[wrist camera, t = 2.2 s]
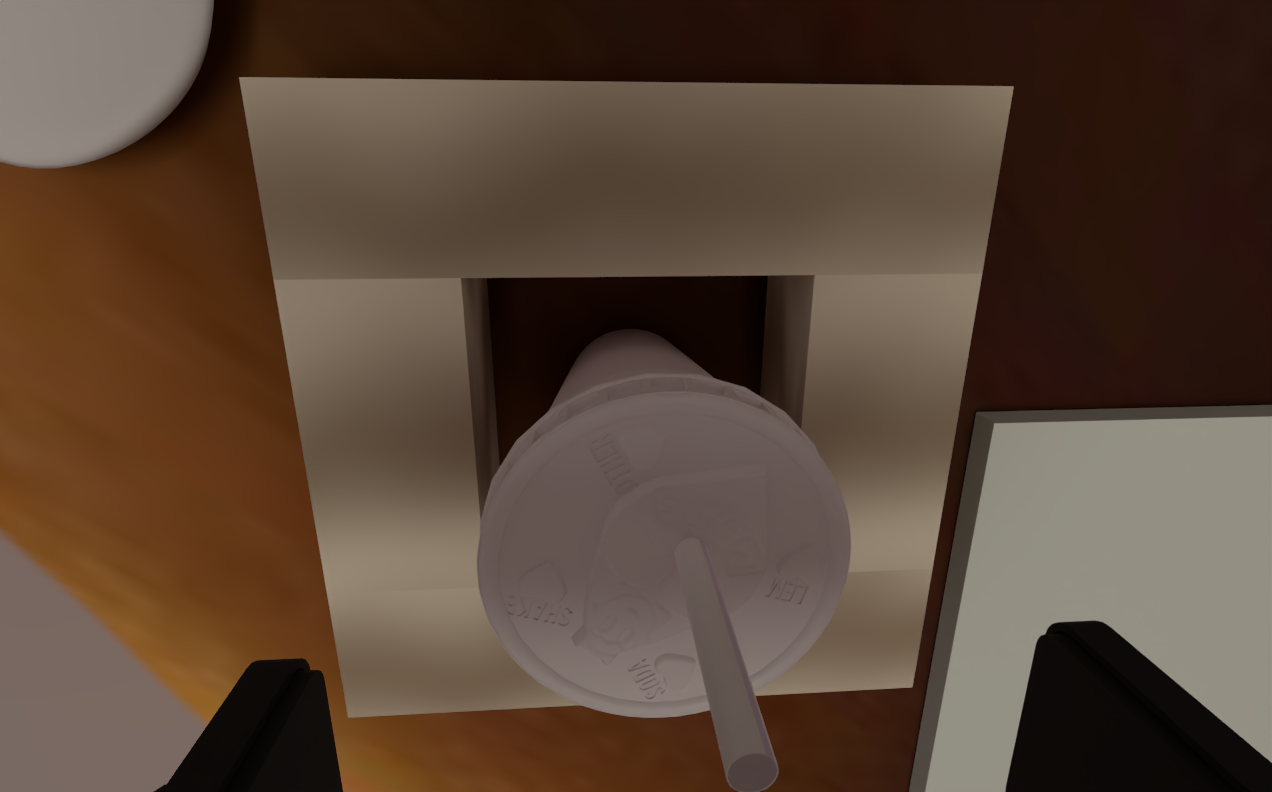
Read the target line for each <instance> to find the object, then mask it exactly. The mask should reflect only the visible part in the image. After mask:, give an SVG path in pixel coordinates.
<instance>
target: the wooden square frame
mask: <svg viewBox="0 0 1272 792" xmlns="http://www.w3.org/2000/svg"><path fill="white" fill-rule="evenodd" d="M239 80H240V86H241V92H242V98H243V104H244V110H245V116H246V121H247V127H248V133H249V139H250V145H251V151H252V157H253V162H254V168H255V174H256V180H257V186H258V192H259V198H260V203H261V209H262V215H263V221H264V227H265V233H266V239H267V245H268V250H269V256H270V262H271V268H272V274H273V280H274V286H275V291H276V297H277V303H278V309H279V315H280V321H281V327H282V332H283V338H284V344H285V350H286V356H287V362H288V368H289V373H290V379H291V385H292V391H293V397H294V403H295V409H296V415H297V420H298V426H299V432H300V438H301V444H302V450H303V456H304V461H305V467H306V473H307V479H308V485H309V491H310V497H311V502H312V508H313V514H314V520H315V526H316V532H317V538H318V543H319V549H320V555H321V561H322V567H323V573H324V579H325V585H326V590H327V596H328V602H329V608H330V614H331V620H332V626H333V631H334V637H335V643H336V649H337V655H338V661H339V667H340V672H341V678H342V684H343V690H344V696H345V702H346V708H347V713H348V718H350V717H368V716H387V715H406V714H424V713H443V712H462V711H480V710H499V709H517V708H536V707H555V706H573V705H580V704H577V703H575V702H573V701H570V700H568V699H566V698H564V697H562V696H560V695H558V694H556V693H555V692H553V691H551V690H549V689H548V688H546V687H545V686H543V685H542V684H540V683H539V682H538V681H536V680H535V679H534V678H533V677H531V676H530V675H529V674H528V673H526V672H525V671H524V670H523V669H522V668H521V667H520V666H519V665H518V664H517V663H516V662H515V661H514V659H513V658H512V657H511V656H510V655H509V653H508V652H507V651H506V650H505V648H504V647H503V645H502V644H501V642H500V641H499V639H498V638H497V636H496V635H495V633H494V631H493V629H492V627H491V625H490V623H489V621H488V618H487V615H486V613H485V610H484V607H483V604H482V600H481V596H480V592H479V585H478V578H477V553H478V543H479V538H480V520H481V517H482V513H483V510H484V506H485V502H486V499H487V495H488V491H489V488H490V484H491V480H492V479H493V477H494V475H495V474H496V472H497V471H498V469H499V467H500V463H499V448H498V434H497V419H496V404H495V390H494V375H493V361H492V346H491V331H490V317H489V302H488V287H487V278H534V277H648V276H763V275H768V282H767V297H766V313H765V328H764V343H763V358H762V373H761V388H760V397H762V398H764V399H765V400H767V401H768V402H770V403H772V404H773V405H775V406H777V407H778V408H780V409H781V410H783V411H785V412H786V413H787V414H788V416H789V417H790V418H791V419H792V420H793V421H794V422H795V423H796V424H797V425H798V427H799V428H800V429H801V430H802V431H803V432H804V433H805V434H806V435H807V437H808V438H809V439H810V440H811V441H812V442H813V443H814V444H815V446H816V448H817V451H818V453H819V455H820V457H821V458H822V460H823V461H824V462H825V464H826V465H827V467H828V468H829V470H830V471H831V473H832V475H833V477H834V479H835V481H836V482H837V484H838V486H839V489H840V491H841V494H842V497H843V499H844V502H845V506H846V510H847V513H848V518H849V525H850V531H851V555H850V565H849V571H848V576H847V580H846V584H845V587H844V590H843V594H842V596H841V599H840V601H839V603H838V606H837V608H836V610H835V612H834V614H833V616H832V618H831V620H830V621H829V623H828V625H827V626H826V628H825V629H824V631H823V632H822V634H821V635H820V637H819V638H818V639H817V640H816V642H815V643H814V644H813V645H812V647H811V648H810V649H809V650H808V651H807V652H806V653H805V654H804V655H803V656H802V657H801V658H800V659H799V660H798V661H797V662H796V663H795V664H794V665H793V666H792V667H790V668H789V669H788V670H787V671H786V672H785V673H783V674H782V675H780V676H779V677H778V678H776V679H775V680H774V681H772V682H771V683H769V684H767V685H766V686H764V687H763V688H761V689H759V690H757V691H756V692H754V693H755V696H759V695H778V694H797V693H815V692H834V691H853V690H871V689H890V688H908V687H913V681H914V675H915V669H916V663H917V658H918V652H919V646H920V640H921V634H922V628H923V622H924V616H925V610H926V604H927V598H928V592H929V586H930V580H931V574H932V568H933V563H934V557H935V551H936V545H937V539H938V533H939V527H940V521H941V515H942V509H943V503H944V497H945V491H946V485H947V479H948V473H949V468H950V462H951V456H952V450H953V444H954V438H955V432H956V426H957V420H958V414H959V408H960V402H961V396H962V390H963V384H964V378H965V373H966V367H967V361H968V355H969V349H970V343H971V337H972V331H973V325H974V319H975V313H976V307H977V301H978V295H979V289H980V284H981V278H982V272H983V266H984V260H985V254H986V248H987V242H988V236H989V230H990V224H991V218H992V212H993V206H994V200H995V194H996V188H997V183H998V177H999V171H1000V165H1001V159H1002V153H1003V147H1004V141H1005V135H1006V129H1007V123H1008V117H1009V111H1010V105H1011V99H1012V94H1013V88H1014V86H941V85H857V84H773V83H688V82H604V81H519V80H435V79H351V78H266V77H239Z"/></svg>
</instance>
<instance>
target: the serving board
mask: <svg viewBox="0 0 1272 792" xmlns="http://www.w3.org/2000/svg"><path fill="white" fill-rule="evenodd" d="M1094 620H1096V621H1100V622H1103V623H1105V624H1107V625H1108V626H1110V627H1111V628H1112V629H1113V630H1115V631H1116V632H1117V633H1118V634H1119V635H1121V636H1122V637H1123V638H1124V639H1125V640H1127V641H1128V642H1129V643H1130V644H1131V645H1132V646H1134V647H1135V648H1136V649H1137V650H1138V651H1140V652H1141V653H1142V654H1143V655H1144V656H1146V657H1147V658H1148V659H1149V660H1150V661H1151V662H1153V663H1154V664H1155V665H1156V666H1157V667H1159V668H1160V669H1161V670H1162V671H1163V672H1165V673H1166V674H1167V675H1168V676H1169V677H1170V678H1172V679H1173V680H1174V681H1175V682H1176V683H1178V684H1179V685H1180V686H1181V687H1182V688H1183V689H1185V690H1186V691H1187V692H1188V693H1189V694H1191V695H1192V696H1193V697H1194V698H1195V699H1197V700H1198V701H1199V702H1200V703H1201V704H1202V705H1204V706H1205V707H1206V708H1207V709H1208V710H1210V711H1211V712H1212V713H1213V714H1214V715H1216V716H1217V717H1218V718H1219V719H1220V720H1221V721H1223V722H1224V723H1225V724H1226V725H1227V726H1229V727H1230V728H1231V729H1232V730H1233V731H1235V732H1236V733H1237V734H1238V735H1239V736H1240V737H1242V738H1243V739H1244V740H1245V741H1246V742H1248V743H1249V744H1250V745H1251V746H1252V747H1254V748H1255V749H1256V750H1257V751H1258V752H1259V753H1261V754H1262V755H1263V756H1264V757H1265V758H1267V759H1268V760H1269V761H1270V762H1271V763H1272V405H1246V406H1205V407H1163V408H1121V409H1079V410H1037V411H995V412H976V416H975V422H974V427H973V433H972V439H971V444H970V450H969V455H968V461H967V467H966V472H965V478H964V484H963V489H962V495H961V501H960V506H959V512H958V517H957V523H956V529H955V534H954V540H953V546H952V551H951V557H950V563H949V568H948V574H947V580H946V585H945V591H944V596H943V602H942V608H941V613H940V619H939V625H938V630H937V636H936V642H935V647H934V653H933V658H932V664H931V670H930V675H929V681H928V687H927V692H926V698H925V704H924V709H923V715H922V721H921V726H920V732H919V737H918V743H917V749H916V754H915V760H914V766H913V771H912V777H911V783H910V788H909V792H1005V791H1006V783H1007V779H1008V774H1009V769H1010V764H1011V760H1012V755H1013V750H1014V746H1015V741H1016V736H1017V731H1018V727H1019V722H1020V717H1021V713H1022V708H1023V703H1024V698H1025V694H1026V689H1027V684H1028V680H1029V675H1030V670H1031V665H1032V661H1033V656H1034V651H1035V646H1036V643H1037V640H1038V638H1039V637H1040V636H1041V635H1045V634H1046V631H1047V629H1048V628H1049V626H1050V625H1051V624H1053V623H1057V622H1073V621H1094Z"/></svg>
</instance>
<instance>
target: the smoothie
mask: <svg viewBox="0 0 1272 792" xmlns="http://www.w3.org/2000/svg"><path fill="white" fill-rule="evenodd" d="M850 555H851V531H850V525H849V518H848V513H847V510H846V506H845V502H844V499H843V497H842V494H841V491H840V489H839V486H838V484H837V482H836V481H835V479H834V477H833V475H832V473H831V471H830V470H829V468H828V467H827V465H826V464H825V462H824V461H823V460H822V458H821V457H820V455H819V453H818V451H817V448H816V446H815V444H814V443H813V442H812V441H811V440H810V439H809V438H808V437H807V435H806V434H805V433H804V432H803V431H802V430H801V429H800V428H799V427H798V425H797V424H796V423H795V422H794V421H793V420H792V419H791V418H790V417H789V416H788V414H787V413H786V412H785V411H783V410H781V409H780V408H778V407H777V406H775V405H773V404H772V403H770V402H768V401H767V400H765V399H764V398H762V397H760V396H759V395H757V394H755V393H754V392H752V391H750V390H749V389H747V388H746V387H743V386H739V385H736V384H732V383H729V382H725V381H722V380H718V379H715V378H714V377H712V376H711V375H710V374H709V373H707V372H706V371H705V370H704V369H702V368H701V367H700V366H699V365H697V364H696V363H695V362H694V361H692V360H691V359H690V358H689V357H687V356H686V355H685V354H684V353H682V352H681V351H680V350H679V349H677V348H676V347H675V346H674V345H672V344H671V343H670V342H668V341H667V340H666V339H664V338H662V337H661V336H659V335H657V334H655V333H652V332H649V331H645V330H640V329H621V330H616V331H612V332H609V333H606V334H604V335H602V336H600V337H598V338H597V339H595V340H594V341H592V342H591V343H590V344H589V345H587V346H586V347H585V348H584V349H583V350H582V352H581V353H580V354H579V356H578V357H577V359H576V360H575V362H574V364H573V366H572V368H571V370H570V372H569V373H568V375H567V377H566V379H565V381H564V383H563V385H562V387H561V389H560V391H559V392H558V394H557V396H556V398H555V400H554V402H553V404H552V406H551V408H550V409H549V411H548V412H547V413H546V414H545V415H544V416H543V417H541V418H540V419H539V420H538V421H537V422H536V423H535V424H534V425H533V426H532V427H530V428H529V429H528V430H527V431H526V432H525V433H524V434H523V435H522V436H521V437H520V438H518V439H517V440H516V442H515V443H514V445H513V447H512V448H511V450H510V451H509V453H508V455H507V456H506V458H505V459H504V461H503V463H502V464H501V466H500V467H499V469H498V471H497V472H496V474H495V475H494V477H493V479H492V480H491V484H490V488H489V491H488V495H487V499H486V502H485V506H484V510H483V513H482V517H481V520H480V538H479V543H478V553H477V578H478V585H479V592H480V596H481V600H482V604H483V607H484V610H485V613H486V615H487V618H488V621H489V623H490V625H491V627H492V629H493V631H494V633H495V635H496V636H497V638H498V639H499V641H500V642H501V644H502V645H503V647H504V648H505V650H506V651H507V652H508V653H509V655H510V656H511V657H512V658H513V659H514V661H515V662H516V663H517V664H518V665H519V666H520V667H521V668H522V669H523V670H524V671H525V672H526V673H528V674H529V675H530V676H531V677H533V678H534V679H535V680H536V681H538V682H539V683H540V684H542V685H543V686H545V687H546V688H548V689H549V690H551V691H553V692H555V693H556V694H558V695H560V696H562V697H564V698H566V699H568V700H570V701H573V702H575V703H577V704H580V705H582V706H585V707H588V708H592V709H595V710H598V711H602V712H606V713H611V714H616V715H623V716H630V717H643V718H661V717H675V716H683V715H689V714H695V713H699V712H703V711H708V710H710V711H711V715H712V719H713V723H714V728H715V732H716V736H717V741H718V745H719V749H720V753H721V758H722V762H723V766H724V770H725V775H726V779H727V782H728V784H729V785H730V786H731V787H732V788H733V789H734V790H736V791H738V792H759V791H762V790H764V789H766V788H768V787H769V786H770V785H772V783H773V782H774V781H775V780H776V778H777V776H778V771H779V769H778V764H777V761H776V758H775V755H774V752H773V749H772V746H771V743H770V740H769V737H768V734H767V730H766V727H765V724H764V721H763V718H762V715H761V712H760V709H759V706H758V703H757V700H756V696H755V693H754V692H756V691H757V690H759V689H761V688H763V687H764V686H766V685H767V684H769V683H771V682H772V681H774V680H775V679H776V678H778V677H779V676H780V675H782V674H783V673H785V672H786V671H787V670H788V669H789V668H790V667H792V666H793V665H794V664H795V663H796V662H797V661H798V660H799V659H800V658H801V657H802V656H803V655H804V654H805V653H806V652H807V651H808V650H809V649H810V648H811V647H812V645H813V644H814V643H815V642H816V640H817V639H818V638H819V637H820V635H821V634H822V632H823V631H824V629H825V628H826V626H827V625H828V623H829V621H830V620H831V618H832V616H833V614H834V612H835V610H836V608H837V606H838V603H839V601H840V599H841V596H842V594H843V590H844V587H845V584H846V580H847V576H848V571H849V565H850Z"/></svg>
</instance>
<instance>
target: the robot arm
mask: <svg viewBox="0 0 1272 792" xmlns="http://www.w3.org/2000/svg"><path fill="white" fill-rule="evenodd" d="M154 792H343V789H342V783H341V777H340V771H339V765H338V759H337V753H336V747H335V741H334V735H333V729H332V723H331V717H330V710H329V704H328V698H327V692H326V686H325V680H324V676H323V674H322V672H321V671H319V670H310V667H309V664H308V663H307V661H306V660H305V659H302V658H301V659H280V660H259V661H255V662H253V663H251V664H250V666H249V667H248V668H247V669H246V670H245V672H244V673H243V675H242V676H241V678H240V679H239V680H238V682H237V683H236V685H235V686H234V688H233V689H232V691H231V692H230V694H229V695H228V696H227V698H226V699H225V701H224V702H223V704H222V705H221V707H220V708H219V709H218V711H217V712H216V714H215V715H214V717H213V718H212V720H211V721H210V723H209V724H208V725H207V727H206V728H205V730H204V731H203V733H202V734H201V736H200V737H199V739H198V740H197V741H196V743H195V744H194V746H193V747H192V749H191V750H190V752H189V753H188V754H187V756H186V757H185V759H184V760H183V762H182V763H181V765H180V766H179V767H178V769H177V770H176V772H175V773H174V775H173V776H172V778H171V779H170V780H169V782H168V783H167V785H163V786H162V787H160V788H159V789H157V790H156V791H154ZM1005 792H1272V763H1271V762H1270V761H1269V760H1268V759H1267V758H1265V757H1264V756H1263V755H1262V754H1261V753H1259V752H1258V751H1257V750H1256V749H1255V748H1254V747H1252V746H1251V745H1250V744H1249V743H1248V742H1246V741H1245V740H1244V739H1243V738H1242V737H1240V736H1239V735H1238V734H1237V733H1236V732H1235V731H1233V730H1232V729H1231V728H1230V727H1229V726H1227V725H1226V724H1225V723H1224V722H1223V721H1221V720H1220V719H1219V718H1218V717H1217V716H1216V715H1214V714H1213V713H1212V712H1211V711H1210V710H1208V709H1207V708H1206V707H1205V706H1204V705H1202V704H1201V703H1200V702H1199V701H1198V700H1197V699H1195V698H1194V697H1193V696H1192V695H1191V694H1189V693H1188V692H1187V691H1186V690H1185V689H1183V688H1182V687H1181V686H1180V685H1179V684H1178V683H1176V682H1175V681H1174V680H1173V679H1172V678H1170V677H1169V676H1168V675H1167V674H1166V673H1165V672H1163V671H1162V670H1161V669H1160V668H1159V667H1157V666H1156V665H1155V664H1154V663H1153V662H1151V661H1150V660H1149V659H1148V658H1147V657H1146V656H1144V655H1143V654H1142V653H1141V652H1140V651H1138V650H1137V649H1136V648H1135V647H1134V646H1132V645H1131V644H1130V643H1129V642H1128V641H1127V640H1125V639H1124V638H1123V637H1122V636H1121V635H1119V634H1118V633H1117V632H1116V631H1115V630H1113V629H1112V628H1111V627H1110V626H1108V625H1107V624H1105V623H1103V622H1100V621H1096V620H1094V621H1073V622H1057V623H1053V624H1051V625H1050V626H1049V628H1048V629H1047V631H1046V634H1045V635H1041V636H1040V637H1039V638H1038V640H1037V643H1036V646H1035V651H1034V656H1033V661H1032V665H1031V670H1030V675H1029V680H1028V684H1027V689H1026V694H1025V698H1024V703H1023V708H1022V713H1021V717H1020V722H1019V727H1018V731H1017V736H1016V741H1015V746H1014V750H1013V755H1012V760H1011V764H1010V769H1009V774H1008V779H1007V783H1006V791H1005Z"/></svg>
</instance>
